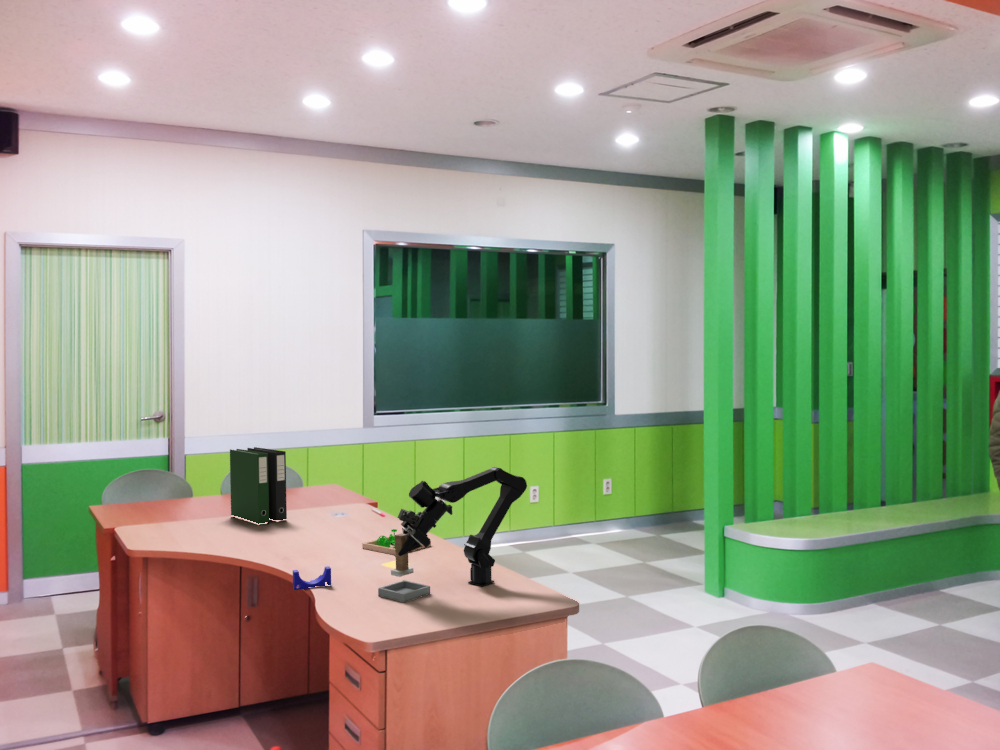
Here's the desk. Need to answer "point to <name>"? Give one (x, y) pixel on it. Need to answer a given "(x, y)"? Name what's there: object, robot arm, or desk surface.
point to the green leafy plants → (386, 540)
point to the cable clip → (316, 582)
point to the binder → (258, 484)
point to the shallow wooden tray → (375, 547)
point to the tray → (404, 591)
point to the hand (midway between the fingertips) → (397, 553)
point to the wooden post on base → (401, 557)
